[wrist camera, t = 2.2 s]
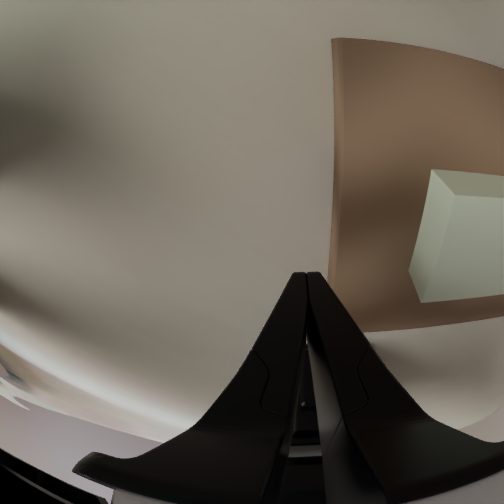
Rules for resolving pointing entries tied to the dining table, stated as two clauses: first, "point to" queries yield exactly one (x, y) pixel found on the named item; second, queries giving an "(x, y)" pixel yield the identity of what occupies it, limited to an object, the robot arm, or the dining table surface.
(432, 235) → the tile
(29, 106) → the dining table surface
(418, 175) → the walnut board
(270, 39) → the dining table surface
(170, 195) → the dining table surface
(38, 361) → the dining table surface
